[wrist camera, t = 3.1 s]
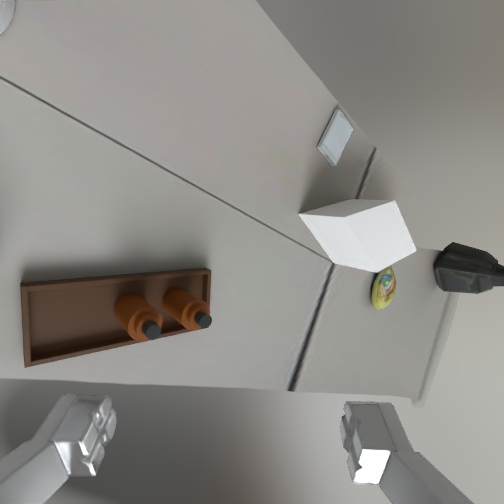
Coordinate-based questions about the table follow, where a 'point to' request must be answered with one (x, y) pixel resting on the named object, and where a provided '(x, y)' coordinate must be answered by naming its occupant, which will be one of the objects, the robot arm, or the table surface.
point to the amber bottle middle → (138, 317)
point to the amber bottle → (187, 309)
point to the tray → (96, 311)
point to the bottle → (467, 270)
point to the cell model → (383, 288)
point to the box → (361, 233)
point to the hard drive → (335, 137)
